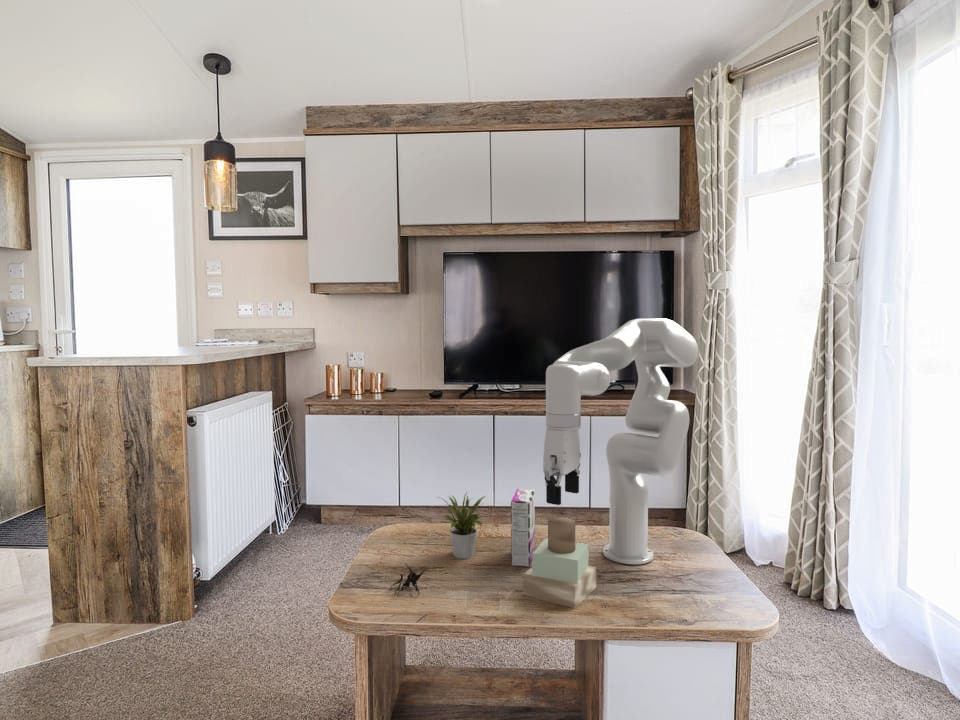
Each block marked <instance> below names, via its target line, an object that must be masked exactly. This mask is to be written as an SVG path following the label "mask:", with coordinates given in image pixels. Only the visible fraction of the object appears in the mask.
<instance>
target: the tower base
mask: <svg viewBox="0 0 960 720" xmlns="http://www.w3.org/2000/svg"><path fill="white" fill-rule="evenodd" d="M596 588H597V566H594V565H590V564H588V568H587V569H586V571H585V573H584V574H583V576H582V577H581V579H580V581H579V582H578V584H576V583H571V582H565V581H560V580H554V579H548V578H543V577H537V576H532V567H530V569H528V570H527V571H525V572H524V573H523V595H526V596H529V597H533V598H536V599H540V600H543V601H546V602H550V603H554V604H558V605H562V606H565V607H568V608H571V609H576V608H577V607H578V606H579V605H580V604H581V603H582V602H583V601H584V600H585V599H586V598H587V597H588V596H589V595H590V594H591V593H592V592H594V590H595V589H596Z"/></svg>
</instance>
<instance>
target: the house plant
mask: <svg viewBox="0 0 960 720" xmlns="http://www.w3.org/2000/svg"><path fill="white" fill-rule="evenodd" d="M467 493H468V491H467V492H466V493H465V494H464V497H463V501H462V508H461V509H459V506H458V502H457V499H456V497H455V496H453V495H452V494H450V496H449V497H448V499H449V500H450V502H451V504H449V503H448V501H446V500H445V499H444V498H442V497H439V496H437V499H441V500H443V501H444V502H445V503H446V505H447V506H448V507H449V508H447V507H445V509H446V510H447V511H448V512H449V514H450V515H451V516H450V515H449V514H444V515H443V516H442V517H441V518H443V519H444V523H445V522H447V521H448V523H450V526H451V528H450V531H449V533H450V540H451V541H450V542H451V546H452V552H453V553H452V554H453V556H454V557H455V558H458V559H469V558H472V557H473V556H474V555H475V548H476V542H477V536H478V529H477V528H476V524H477V525H478V526H480V528H481V529H482V526H483V524H482V522H481V521H479V519H480V518H482V517H483V516H482V515H481V513H475V511H476V510H477V508H478V507H479V506H480V507H481V505H483V503H481V502H482V500H483V499H485V498H486V497H487V495H485V496H481V497H480V498H479V499H477V500H476V502H475V503H474V504H473V505H472V507H471V509H470V510H469V506H470V501H471V500H472V498H471V499H469V496H468V495H467ZM451 496H452V497H451ZM465 499H466V500H465ZM480 503H481V504H480ZM468 511H469V513H468Z"/></svg>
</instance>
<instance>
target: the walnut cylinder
mask: <svg viewBox="0 0 960 720" xmlns="http://www.w3.org/2000/svg"><path fill="white" fill-rule="evenodd" d="M547 538H548V549H549V550H550V551H551V552H554V553H558V554H568V553H572V552H574V551H575V542H576V521H575V520H574V519H573V518H569V517H563V516H562V517H558V516H557V517H551V518H550V519H548V521H547Z"/></svg>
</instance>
